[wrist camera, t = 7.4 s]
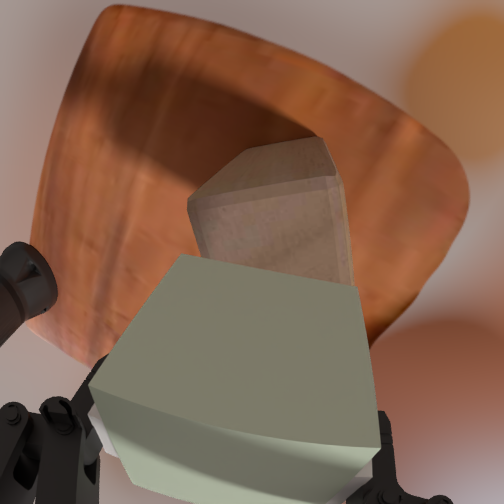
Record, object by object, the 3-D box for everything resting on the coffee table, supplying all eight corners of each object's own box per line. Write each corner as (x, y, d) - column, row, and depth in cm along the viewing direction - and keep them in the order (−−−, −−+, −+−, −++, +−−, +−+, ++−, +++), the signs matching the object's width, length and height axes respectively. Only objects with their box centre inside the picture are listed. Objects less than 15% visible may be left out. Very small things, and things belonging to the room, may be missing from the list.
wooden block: (337, 214, 39) (357, 314, 21) (258, 226, 41) (219, 327, 24) (323, 134, 35) (342, 169, 17) (239, 149, 37) (177, 199, 20)
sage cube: (182, 370, 16) (132, 483, 10) (181, 253, 13) (88, 385, 7) (314, 397, 15) (304, 521, 9) (357, 286, 12) (381, 447, 6)
